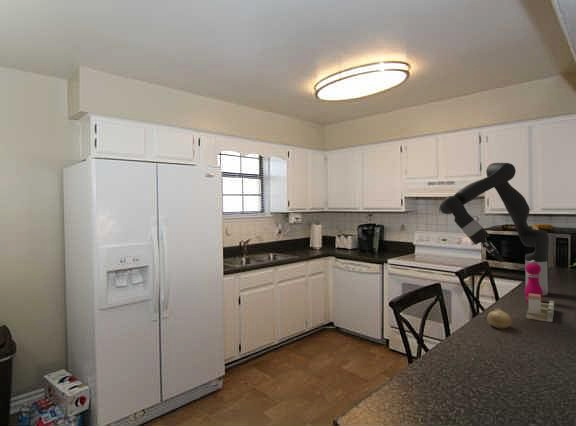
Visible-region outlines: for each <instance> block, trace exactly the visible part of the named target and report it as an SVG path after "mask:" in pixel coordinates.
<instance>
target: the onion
mask: <svg viewBox="0 0 576 426" xmlns="http://www.w3.org/2000/svg"><path fill="white" fill-rule="evenodd" d="M486 317H487V318H486V319H487V322H488V324H489V325H490V326H492V327H494V328H497V329H499V330H502V329H507V328H509V327H510V326H511V324H512V319H511V316H510V315H509V314H508V313H506V312H505V311H503V310H502V309H501V308H496V307H495V308H494V307H492V311H490V312H489V313H488V314H487V316H486Z"/></svg>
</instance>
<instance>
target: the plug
mask: <svg viewBox="0 0 576 426" xmlns="http://www.w3.org/2000/svg"><path fill="white" fill-rule="evenodd" d="M541 298H542V296H541V295H540V294H531V293H529V295H528V307H529V312H535V313H541Z"/></svg>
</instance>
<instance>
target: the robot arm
mask: <svg viewBox="0 0 576 426" xmlns="http://www.w3.org/2000/svg"><path fill="white" fill-rule="evenodd" d="M516 171H517V170H516V167H515V165H514V164H512V163H509V162H492V163H489V165H487V167H486V171H485V172H486V173H485V174H486V177H483V178H482V179H479V180H476V181H473V182H471V183H469V184H467V185H465V186H464V187H463V188H460V189H459V190H458V191H457V192H455V194H453V195H448V196H447V197H446V198H445V199H444V200H443V201H442V202H441V203H440V205H439V209H440V211H441V213H443V214H445V215H451V214H452V215H453V217H454V223H456V226H458V227H459V228H460V229H461V231H463V233H464V234H465V236H466V237H467V238H468V239H469V240H470V241H471V242H472V243H473V244H474V245H478V244H480V243H481V244H482V246H481V247H482V248H483V249H484V250H486V251H487V252H488V253H489V254H491V255H492V256H493V257H494V258H495V259H496V260H497V261H498V263H502V262H504V261H505V258H504V257H503V256H502V255H501V254H500V253H499V250H497V248H496V247H495V246H494V244H493V243H492V241H490V240H487V238H488V237H489V236H490V234H489V232H488V231H487V230H486V229H485V228H484V227H483V226H482V225H481V224H480V223H479V222H478V221H476V219H474V217H472V215H471V214H470V213H469V212H468V211H467V209H466V207H465V205H466V204H468V203H469V202H471V201H472V200H474V199H475V198H478V197H479V196H480V195H482V194H484V193H486V192H489V190H491V189H493V188H494V189H495V190H496V193H497V195H498V196H499V198H500V199H501V201H502V204H503V205H504V206H505V209H506V211H507V213H508V215H509V216H510V217H511V220H512V222H513V224H514V226H515V229H516V232H517V234H518V237H519V240H520V241H521V243H522V244H523V246H525V247H528V248H534V251H533V252H532V253H526V254H525V256H524V262H525V263H524V265H525V269H524V270H525V287H526V286H527V283H528V276H527V273H528V272H527V271H526V266H527V265H528V264H530V263H531V261H532V260H534V261H535V264H538V265H539V266H540V267H541V272H540V273H539V274H540V277H539V284H540V286H541V288H542V291H543V295H542V296H544V297H545V296H548V290H549V289H548V287H549V286H548V285H549V284H548V257H549V245H550V238H549V237H550V235H549V233H548V232H547V231H546V230H543V229H531V228H530V227H529V224H528V223H527V222H528V221H527V220H528V219H529V218H528V217H529V215H530V210H531V209H530V206H529V204H528V202H527V200H526V198H525V197H524V196H523V194H522V193H521V192H519V190H517V189H515V188H514V187H513V186H512V185H511V184H510V183H509V181H512V180H513V178H515V175H516ZM542 296H541V297H542Z"/></svg>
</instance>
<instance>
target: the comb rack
mask: <svg viewBox="0 0 576 426" xmlns="http://www.w3.org/2000/svg"><path fill="white" fill-rule="evenodd" d="M554 311H555V301H554V300H549V302H548V303H544V302H542V303H541V313H535V312H529V306H528V309H527V311H526V316H525V317H526V319H529V320H536V321H541V322H548V323H553V320H554V314H555V312H554Z"/></svg>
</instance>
